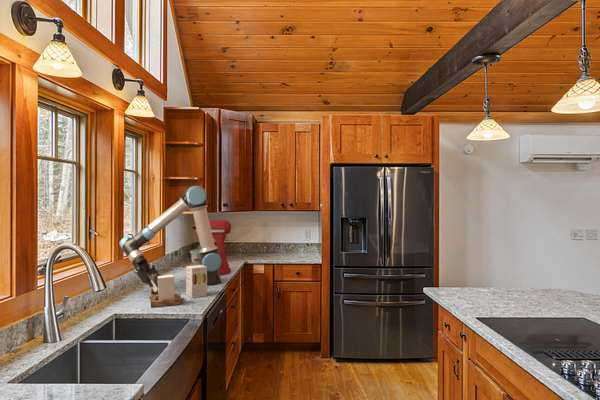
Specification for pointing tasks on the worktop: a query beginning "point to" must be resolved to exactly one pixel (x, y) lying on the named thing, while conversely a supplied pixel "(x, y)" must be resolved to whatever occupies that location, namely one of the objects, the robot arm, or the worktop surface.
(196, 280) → the supplement box
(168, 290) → the skincare box
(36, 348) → the worktop surface
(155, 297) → the brown wooden frame
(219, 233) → the stand mixer
